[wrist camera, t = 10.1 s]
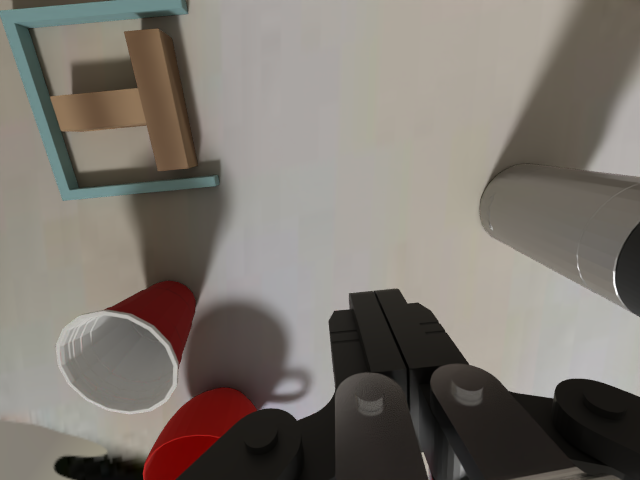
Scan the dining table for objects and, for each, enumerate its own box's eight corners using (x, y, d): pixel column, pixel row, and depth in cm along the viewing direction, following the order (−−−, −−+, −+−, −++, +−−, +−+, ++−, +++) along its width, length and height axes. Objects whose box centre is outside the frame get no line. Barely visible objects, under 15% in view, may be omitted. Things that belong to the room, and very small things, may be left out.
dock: (185, 1, 30) (179, -6, 29) (219, 184, 35) (215, 186, 34) (13, 16, 30) (-2, 10, 28) (72, 198, 35) (62, 200, 34)
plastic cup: (115, 261, 37) (31, 316, 26) (209, 258, 38) (166, 310, 26) (134, 341, 41) (67, 421, 29) (220, 337, 41) (187, 414, 30)
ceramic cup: (280, 458, 48) (273, 539, 38) (167, 428, 45) (129, 506, 36) (313, 392, 44) (315, 462, 35) (192, 355, 42) (158, 419, 32)
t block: (172, 38, 31) (158, 28, 28) (198, 165, 35) (188, 168, 32) (57, 49, 31) (31, 40, 28) (95, 175, 35) (76, 179, 32)
